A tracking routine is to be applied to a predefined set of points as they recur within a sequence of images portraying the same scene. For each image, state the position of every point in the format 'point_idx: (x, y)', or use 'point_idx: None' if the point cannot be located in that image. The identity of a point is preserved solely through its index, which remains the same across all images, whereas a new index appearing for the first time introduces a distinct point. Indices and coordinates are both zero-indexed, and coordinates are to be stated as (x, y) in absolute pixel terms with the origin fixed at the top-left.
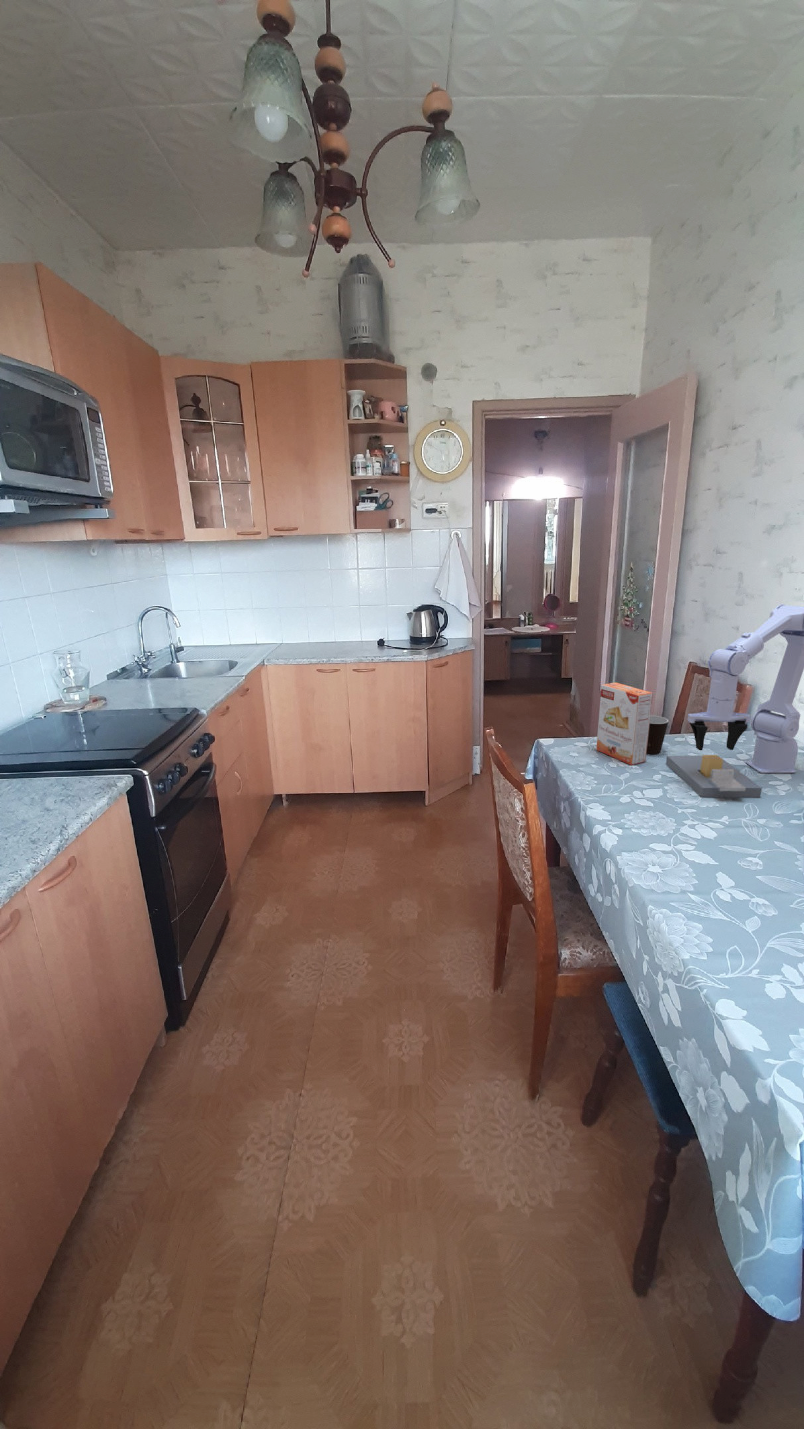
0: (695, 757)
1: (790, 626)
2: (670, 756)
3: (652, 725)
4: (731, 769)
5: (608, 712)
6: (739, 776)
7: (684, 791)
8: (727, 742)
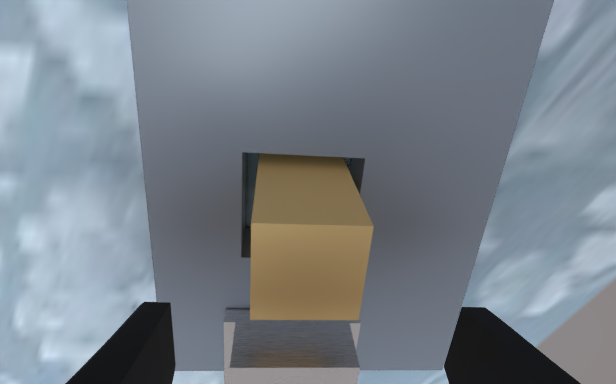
0: None
1: None
2: None
3: None
4: (351, 371)
5: None
6: (439, 255)
7: (117, 278)
8: (488, 351)
